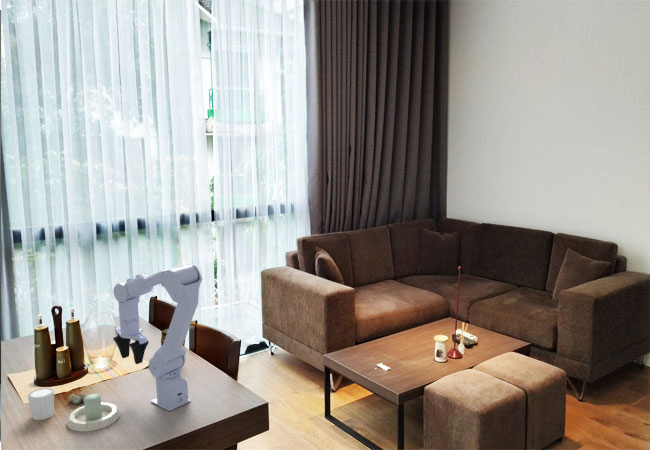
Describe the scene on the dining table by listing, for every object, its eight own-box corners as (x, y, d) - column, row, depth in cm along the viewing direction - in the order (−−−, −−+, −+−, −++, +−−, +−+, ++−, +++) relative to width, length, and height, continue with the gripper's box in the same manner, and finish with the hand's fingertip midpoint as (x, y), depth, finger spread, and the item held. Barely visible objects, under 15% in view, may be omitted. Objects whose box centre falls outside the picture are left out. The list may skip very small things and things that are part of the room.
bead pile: (92, 401, 171) (91, 394, 170) (76, 408, 167) (76, 400, 167) (82, 396, 174) (81, 389, 174) (66, 402, 171) (66, 394, 170)
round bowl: (129, 417, 161) (128, 410, 161) (82, 437, 150) (82, 430, 150) (103, 403, 170) (103, 396, 170) (58, 421, 159) (57, 414, 159)
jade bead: (105, 413, 162) (103, 394, 161) (97, 421, 158) (95, 401, 157) (90, 413, 162) (89, 393, 162) (82, 420, 158) (80, 400, 157)
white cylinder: (49, 407, 168) (47, 385, 166) (60, 414, 163) (58, 391, 162) (25, 416, 162) (23, 393, 161) (36, 423, 158) (34, 400, 157)
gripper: (153, 320, 174) (156, 361, 176) (127, 311, 183) (130, 351, 185) (133, 326, 168) (136, 368, 170) (108, 317, 177) (111, 357, 179)
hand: (132, 360), depth 177 cm, fingers open, 7 cm apart
